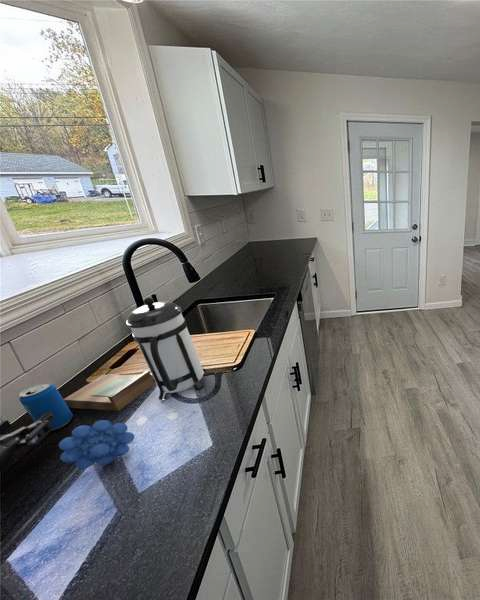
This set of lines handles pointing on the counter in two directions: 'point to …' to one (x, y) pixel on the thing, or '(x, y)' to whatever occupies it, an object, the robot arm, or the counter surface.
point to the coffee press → (166, 346)
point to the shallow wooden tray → (110, 392)
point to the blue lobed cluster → (96, 444)
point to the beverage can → (46, 404)
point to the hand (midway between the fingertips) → (29, 418)
